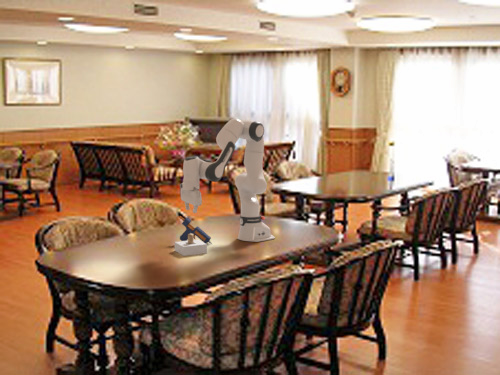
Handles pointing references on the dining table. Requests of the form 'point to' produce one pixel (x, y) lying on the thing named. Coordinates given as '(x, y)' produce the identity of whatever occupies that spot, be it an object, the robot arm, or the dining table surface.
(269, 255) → the dining table surface
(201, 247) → the hole block
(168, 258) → the dining table surface
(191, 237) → the peg
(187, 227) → the glue gun
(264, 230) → the robot arm
